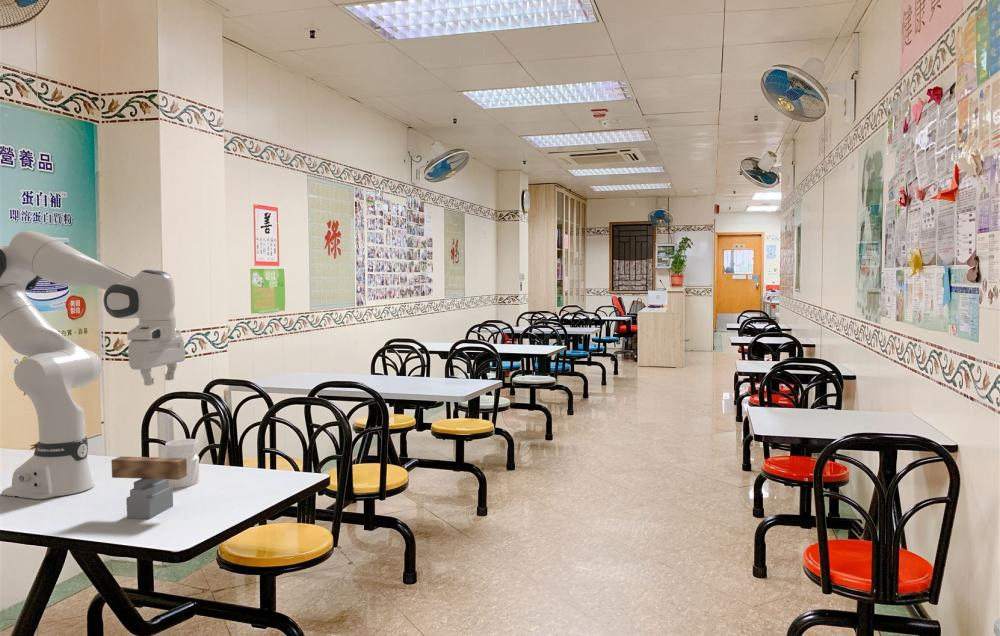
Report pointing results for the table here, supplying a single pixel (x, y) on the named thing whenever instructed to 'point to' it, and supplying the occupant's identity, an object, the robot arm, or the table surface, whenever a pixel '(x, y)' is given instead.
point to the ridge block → (149, 498)
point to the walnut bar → (149, 468)
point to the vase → (186, 450)
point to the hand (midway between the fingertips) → (159, 382)
